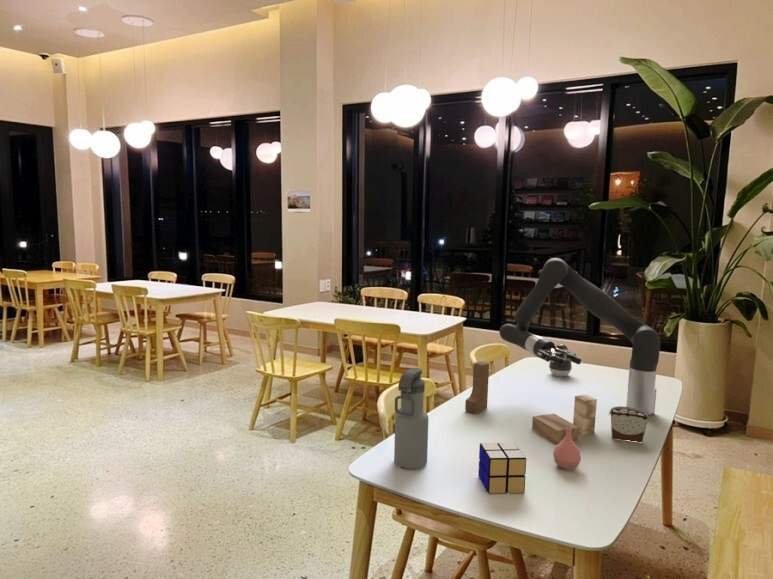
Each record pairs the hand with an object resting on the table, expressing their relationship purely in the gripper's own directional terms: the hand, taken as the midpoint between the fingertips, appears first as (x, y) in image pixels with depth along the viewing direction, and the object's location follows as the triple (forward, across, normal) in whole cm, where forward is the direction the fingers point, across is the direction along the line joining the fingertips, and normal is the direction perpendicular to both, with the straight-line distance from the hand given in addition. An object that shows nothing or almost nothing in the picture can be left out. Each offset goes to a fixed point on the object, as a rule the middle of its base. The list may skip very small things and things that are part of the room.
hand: (571, 362), depth 184 cm
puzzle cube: (+29, -51, +22) cm, 63 cm away
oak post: (+12, 0, +21) cm, 24 cm away
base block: (+10, -12, +22) cm, 27 cm away
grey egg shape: (-42, +44, +25) cm, 65 cm away
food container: (+22, +8, +19) cm, 30 cm away
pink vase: (+29, -27, +21) cm, 45 cm away
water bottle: (+8, -67, +26) cm, 73 cm away
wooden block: (-20, -22, +27) cm, 40 cm away
